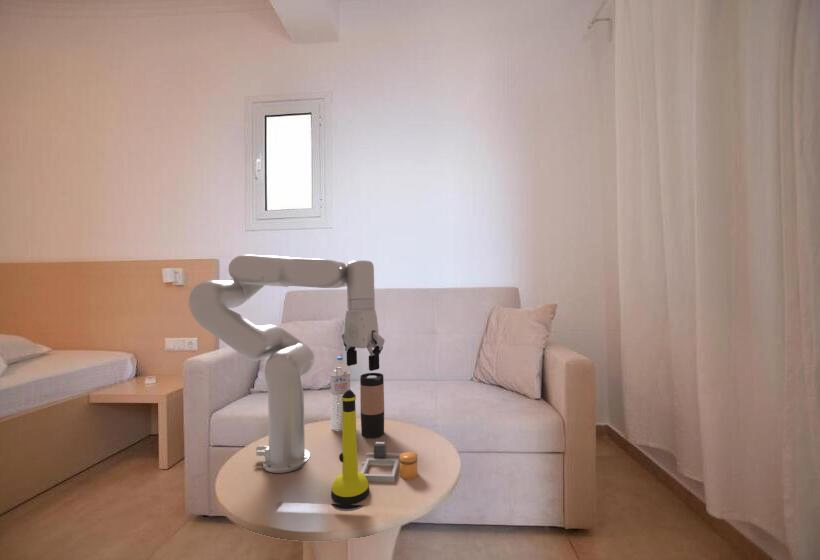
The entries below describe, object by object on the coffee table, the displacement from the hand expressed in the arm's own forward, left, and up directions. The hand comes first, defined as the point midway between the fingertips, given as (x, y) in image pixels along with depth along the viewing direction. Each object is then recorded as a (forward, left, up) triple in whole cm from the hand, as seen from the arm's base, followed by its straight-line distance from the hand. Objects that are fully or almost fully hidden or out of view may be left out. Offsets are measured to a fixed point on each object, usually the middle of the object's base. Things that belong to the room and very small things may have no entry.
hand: (362, 367), depth 98 cm
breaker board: (+3, -4, -27) cm, 27 cm away
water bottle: (-13, +22, -27) cm, 37 cm away
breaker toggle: (+4, 0, -25) cm, 26 cm away
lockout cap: (+13, -7, -27) cm, 30 cm away
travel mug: (-1, +17, -27) cm, 32 cm away
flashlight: (0, -16, -27) cm, 31 cm away
